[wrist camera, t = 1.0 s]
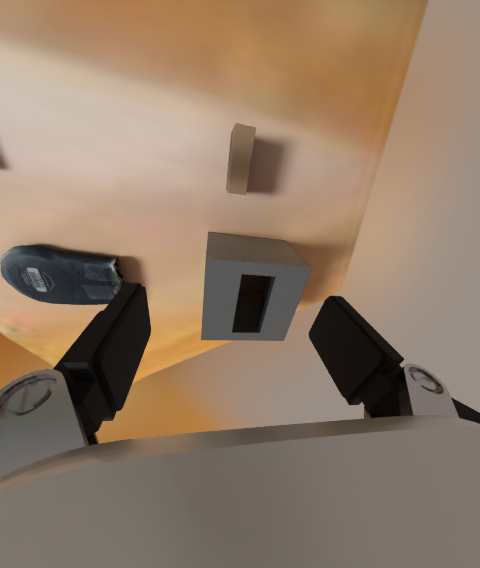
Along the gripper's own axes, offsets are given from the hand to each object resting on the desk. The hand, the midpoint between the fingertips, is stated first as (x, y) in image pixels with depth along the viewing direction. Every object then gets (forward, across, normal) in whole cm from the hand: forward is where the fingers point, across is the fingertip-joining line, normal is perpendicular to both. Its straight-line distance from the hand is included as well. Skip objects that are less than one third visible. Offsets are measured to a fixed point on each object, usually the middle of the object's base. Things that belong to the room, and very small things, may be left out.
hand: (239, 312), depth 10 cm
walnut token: (+20, -1, -7) cm, 22 cm away
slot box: (+20, -4, +8) cm, 22 cm away
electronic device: (+21, +22, +11) cm, 32 cm away
